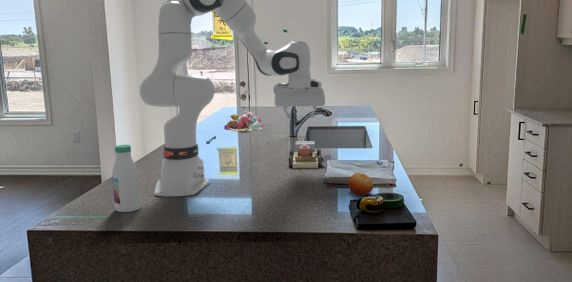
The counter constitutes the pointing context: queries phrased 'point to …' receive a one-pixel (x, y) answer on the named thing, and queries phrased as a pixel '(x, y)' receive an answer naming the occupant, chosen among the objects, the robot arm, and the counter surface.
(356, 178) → the fruit
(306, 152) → the block
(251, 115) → the candy plate
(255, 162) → the counter surface
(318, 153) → the chassis
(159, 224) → the counter surface
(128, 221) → the counter surface
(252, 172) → the counter surface
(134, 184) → the milk bottle
